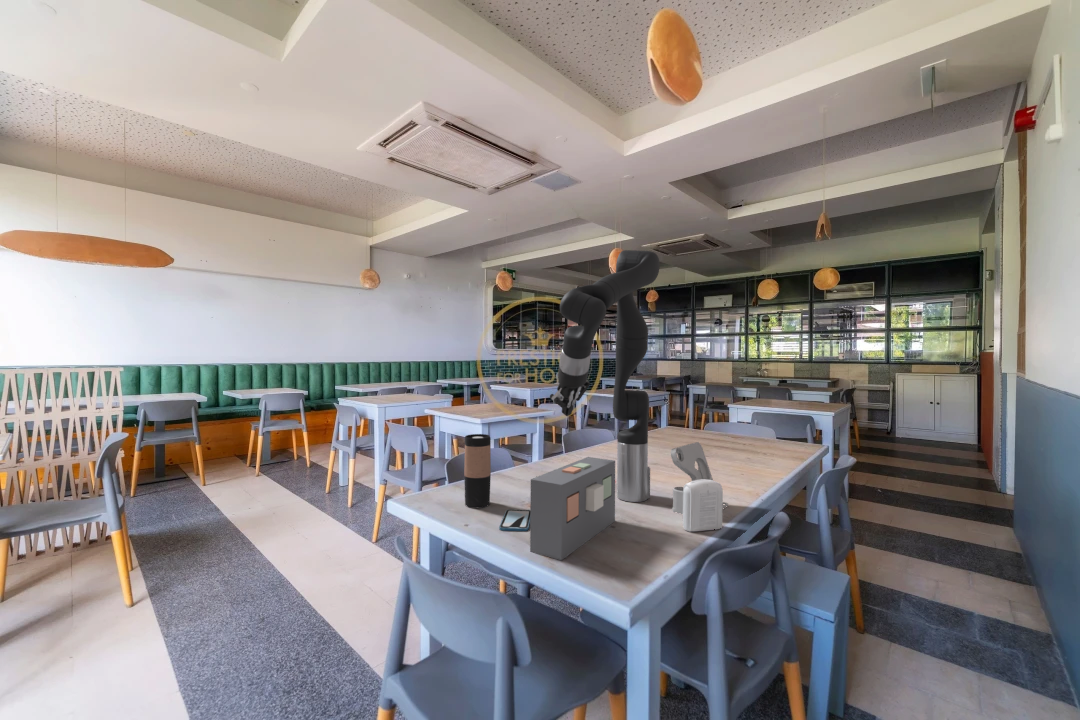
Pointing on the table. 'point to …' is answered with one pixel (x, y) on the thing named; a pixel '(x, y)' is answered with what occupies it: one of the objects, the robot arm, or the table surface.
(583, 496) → the keypad console
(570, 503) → the terracotta key
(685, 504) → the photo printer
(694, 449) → the phone holder
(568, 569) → the table surface
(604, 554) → the table surface
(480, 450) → the travel mug
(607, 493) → the sage key
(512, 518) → the smartphone
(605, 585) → the table surface
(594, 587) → the table surface
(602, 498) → the white key
